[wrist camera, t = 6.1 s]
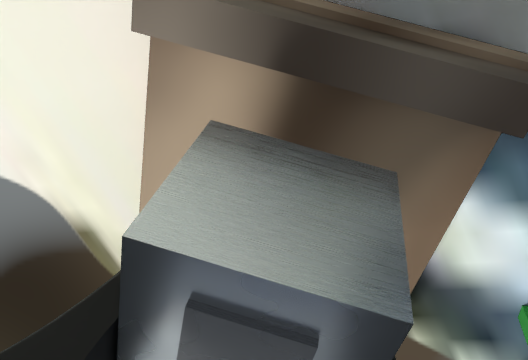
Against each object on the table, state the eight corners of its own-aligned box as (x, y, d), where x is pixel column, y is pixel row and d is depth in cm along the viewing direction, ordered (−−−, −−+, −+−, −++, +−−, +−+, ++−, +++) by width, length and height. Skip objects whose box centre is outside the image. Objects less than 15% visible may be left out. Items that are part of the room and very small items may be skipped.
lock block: (396, 172, 11) (414, 334, 7) (321, 342, 15) (303, 516, 11) (210, 119, 12) (116, 243, 7) (182, 299, 15) (109, 452, 11)
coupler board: (527, 53, 14) (557, 82, 12) (384, 318, 21) (386, 367, 19) (169, -41, 15) (133, -31, 13) (147, 245, 22) (121, 284, 20)
